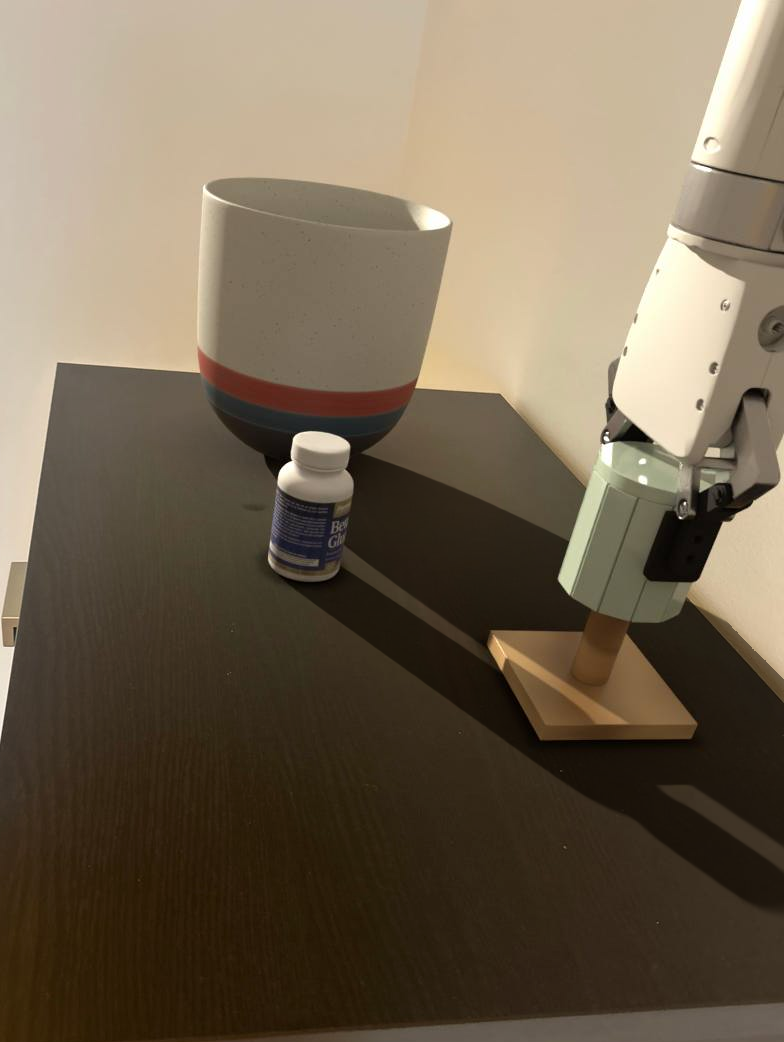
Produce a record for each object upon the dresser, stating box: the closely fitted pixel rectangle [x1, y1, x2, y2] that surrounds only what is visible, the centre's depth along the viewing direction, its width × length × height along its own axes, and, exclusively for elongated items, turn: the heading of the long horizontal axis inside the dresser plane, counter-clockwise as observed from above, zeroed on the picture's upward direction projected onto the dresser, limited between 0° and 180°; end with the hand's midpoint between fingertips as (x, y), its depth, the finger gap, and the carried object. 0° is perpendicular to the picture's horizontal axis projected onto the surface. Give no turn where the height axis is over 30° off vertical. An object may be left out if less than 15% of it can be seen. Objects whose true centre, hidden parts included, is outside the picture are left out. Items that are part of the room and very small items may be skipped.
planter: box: [196, 176, 454, 463], centre depth 82 cm, size 20×20×21 cm
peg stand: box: [486, 609, 698, 741], centre depth 58 cm, size 10×10×7 cm
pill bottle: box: [267, 431, 355, 583], centre depth 67 cm, size 5×5×10 cm
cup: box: [557, 441, 716, 624], centre depth 54 cm, size 7×7×8 cm
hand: (637, 542), depth 54 cm, fingers closed on cup, 7 cm apart
